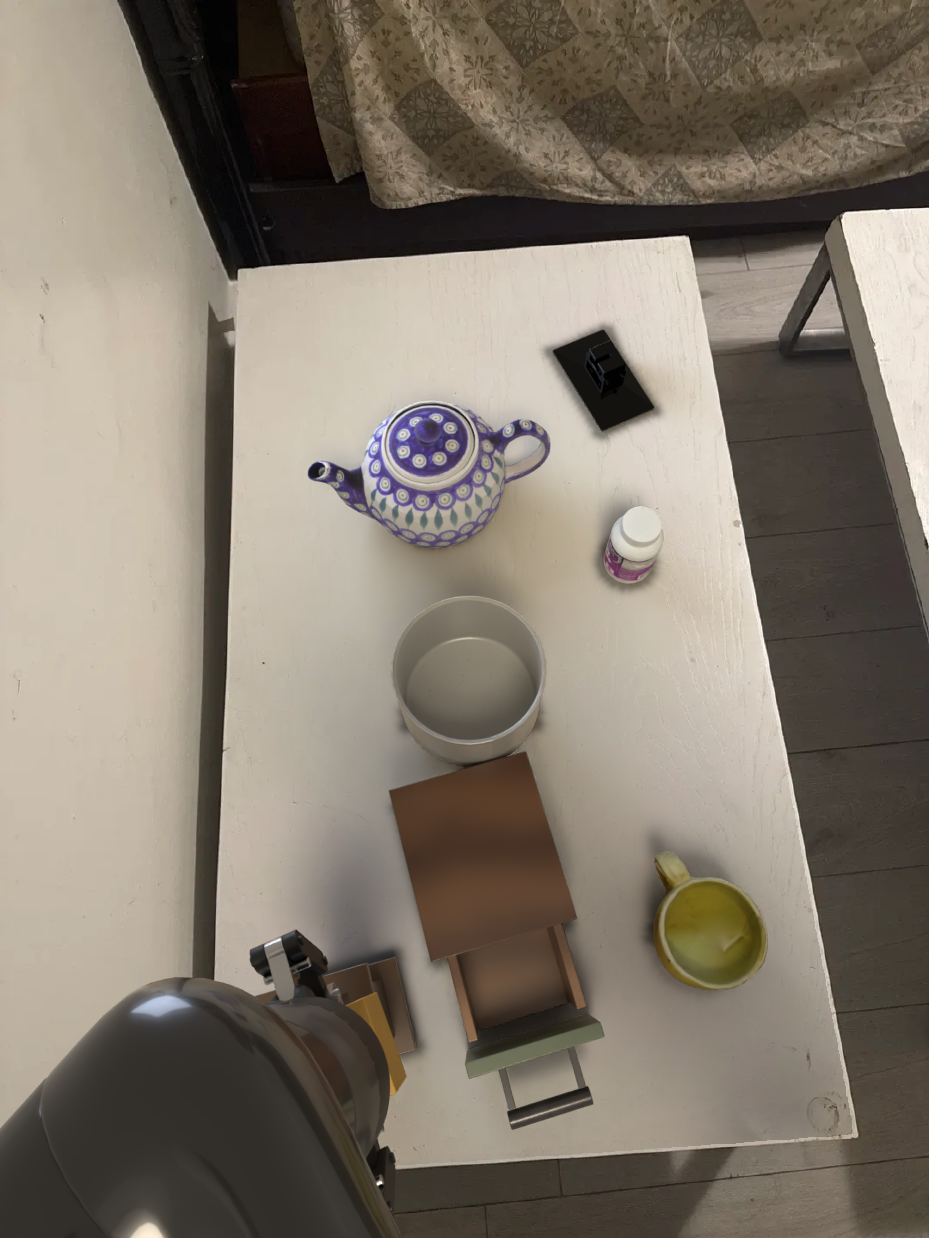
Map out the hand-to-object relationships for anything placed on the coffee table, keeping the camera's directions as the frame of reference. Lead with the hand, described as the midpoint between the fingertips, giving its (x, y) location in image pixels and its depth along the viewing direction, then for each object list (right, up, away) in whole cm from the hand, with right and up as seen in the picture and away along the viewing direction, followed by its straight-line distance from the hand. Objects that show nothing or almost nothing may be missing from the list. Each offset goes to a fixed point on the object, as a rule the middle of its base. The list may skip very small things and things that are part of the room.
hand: (349, 1054), depth 50 cm
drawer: (+11, -9, +29) cm, 33 cm away
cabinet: (+8, +2, +34) cm, 35 cm away
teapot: (+4, +38, +48) cm, 61 cm away
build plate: (+23, +53, +53) cm, 78 cm away
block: (0, 0, +1) cm, 1 cm away
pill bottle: (+24, +31, +45) cm, 60 cm away
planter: (+7, +15, +39) cm, 42 cm away
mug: (+28, -3, +32) cm, 42 cm away
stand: (-3, -11, +30) cm, 32 cm away
